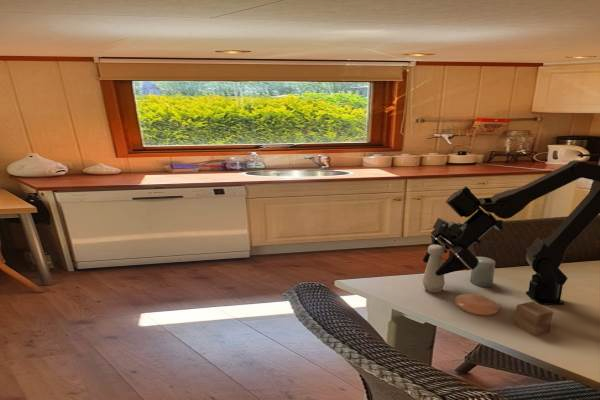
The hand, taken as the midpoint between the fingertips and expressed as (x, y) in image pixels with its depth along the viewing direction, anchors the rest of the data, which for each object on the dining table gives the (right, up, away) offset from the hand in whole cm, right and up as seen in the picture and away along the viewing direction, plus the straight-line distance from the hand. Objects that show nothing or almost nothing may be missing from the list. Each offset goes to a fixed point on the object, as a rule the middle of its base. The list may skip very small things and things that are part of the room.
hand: (429, 267), depth 100 cm
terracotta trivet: (+9, -8, -7) cm, 15 cm away
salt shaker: (+1, -7, +1) cm, 7 cm away
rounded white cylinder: (+17, -6, +6) cm, 19 cm away
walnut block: (+17, -11, -17) cm, 27 cm away
